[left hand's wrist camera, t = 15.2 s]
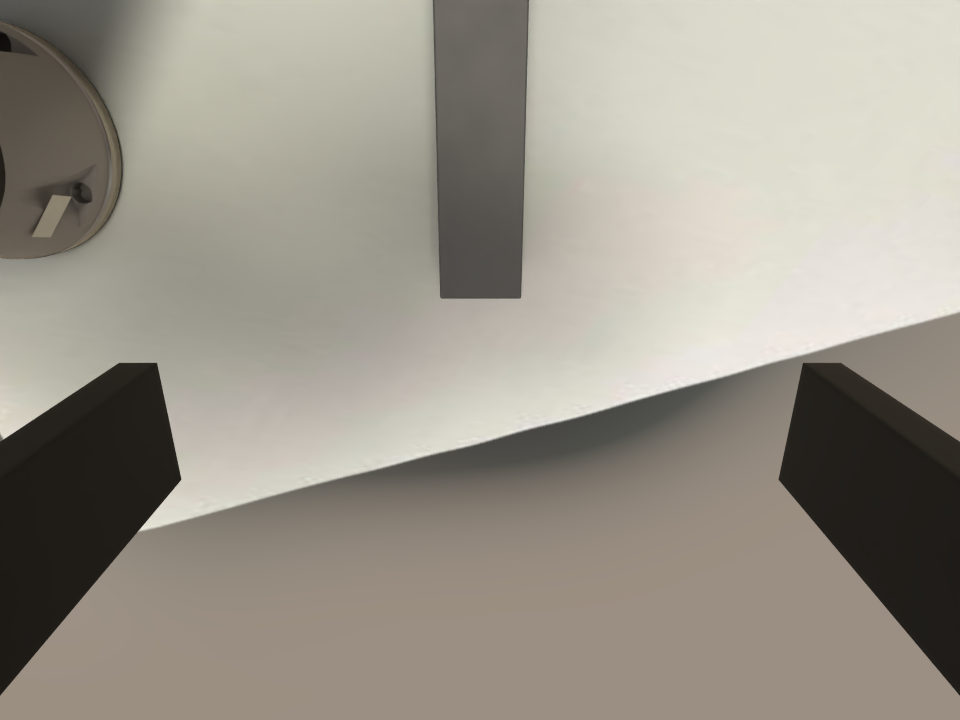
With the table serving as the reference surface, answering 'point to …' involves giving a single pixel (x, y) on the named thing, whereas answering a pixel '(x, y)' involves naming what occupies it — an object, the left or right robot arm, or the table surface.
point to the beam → (480, 144)
